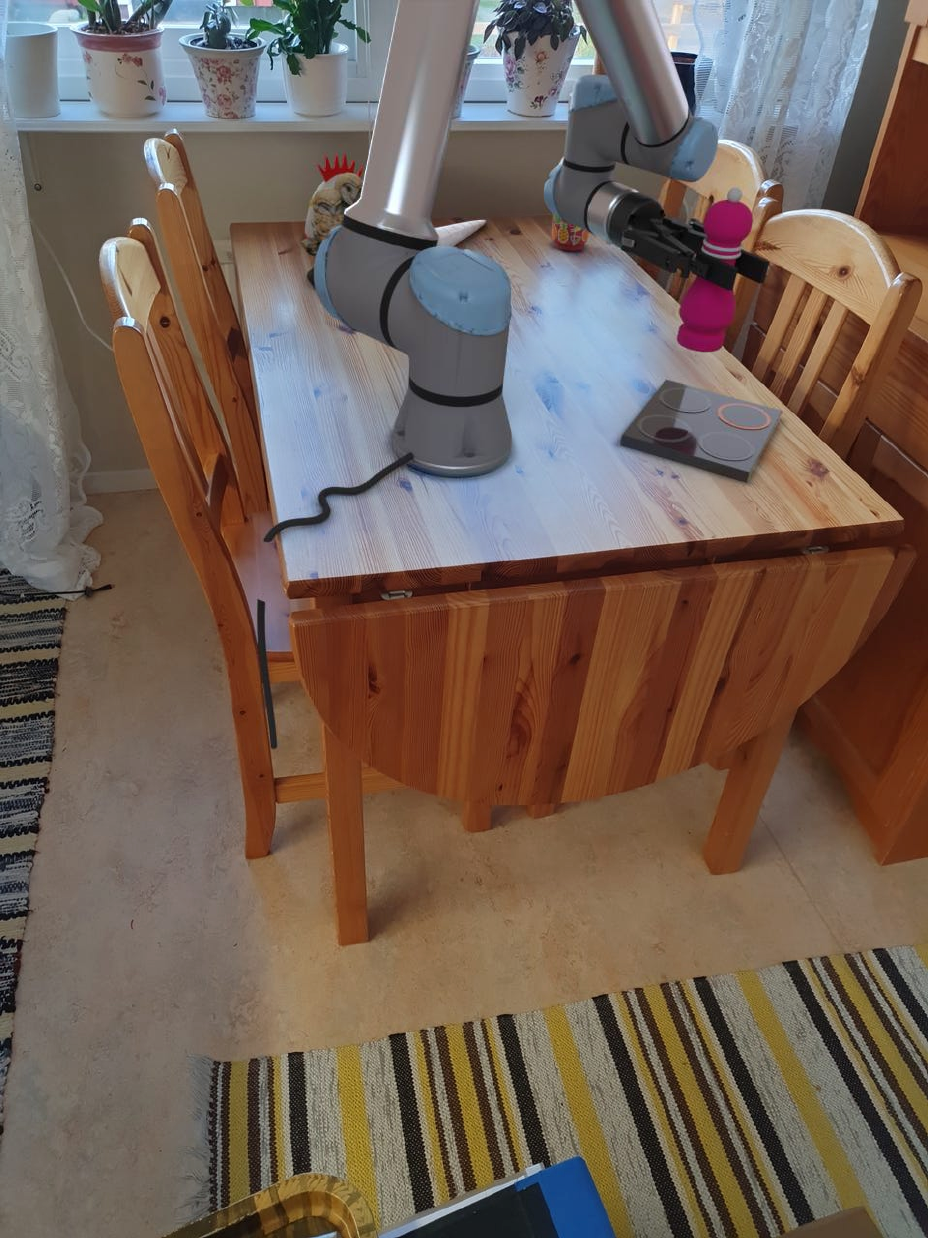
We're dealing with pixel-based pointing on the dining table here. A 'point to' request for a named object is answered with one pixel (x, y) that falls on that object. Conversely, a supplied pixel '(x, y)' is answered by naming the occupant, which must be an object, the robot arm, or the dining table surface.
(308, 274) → the owl figurine
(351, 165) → the skull with red mohawk
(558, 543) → the dining table surface
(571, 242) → the smoothie
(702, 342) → the pepper mill
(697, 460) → the hob
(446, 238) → the unicorn horn
